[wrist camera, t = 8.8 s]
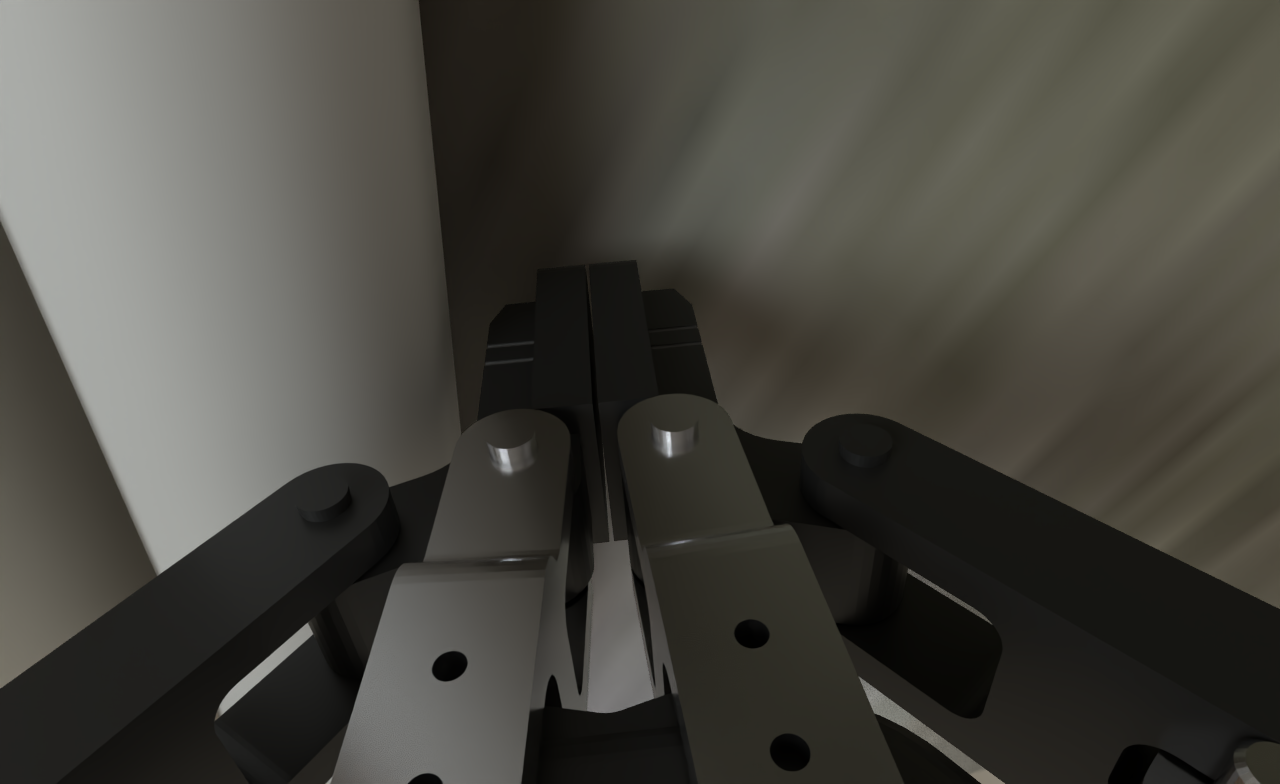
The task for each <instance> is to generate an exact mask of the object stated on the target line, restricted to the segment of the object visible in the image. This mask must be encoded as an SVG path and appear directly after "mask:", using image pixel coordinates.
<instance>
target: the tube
mask: <svg viewBox="0 0 1280 784" xmlns="http://www.w3.org/2000/svg"><path fill="white" fill-rule="evenodd" d="M0 221H1V223H2V226H3V228H4V230H5V233H6V235H7V237H8V239H9V242H10V244H11V246H12V248H13V251H14V253H15V255H16V258H17V260H18V262H19V264H20V267H21V269H22V271H23V273H24V276H25V278H26V280H27V282H28V285H29V287H30V289H31V292H32V294H33V296H34V298H35V301H36V303H37V305H38V307H39V310H40V312H41V314H42V317H43V319H44V321H45V323H46V326H47V328H48V330H49V332H50V335H51V337H52V339H53V341H54V344H55V346H56V348H57V351H58V353H59V355H60V357H61V360H62V362H63V364H64V366H65V369H66V371H67V373H68V376H69V378H70V380H71V382H72V385H73V387H74V389H75V391H76V394H77V396H78V398H79V400H80V403H81V405H82V407H83V410H84V412H85V414H86V416H87V419H88V421H89V423H90V425H91V428H92V430H93V432H94V435H95V437H96V439H97V441H98V444H99V446H100V448H101V450H102V453H103V455H104V457H105V459H106V462H107V464H108V466H109V469H110V471H111V473H112V475H113V478H114V480H115V482H116V484H117V487H118V489H119V491H120V494H121V496H122V498H123V500H124V503H125V505H126V507H127V509H128V512H129V514H130V516H131V518H132V521H133V523H134V525H135V528H136V530H137V532H138V534H139V537H140V539H141V541H142V543H143V546H144V548H145V550H146V553H147V555H148V557H149V559H150V562H151V564H152V566H153V568H154V571H155V573H156V575H157V576H158V575H159V574H161V573H162V572H164V571H165V570H166V569H168V568H169V567H170V566H172V565H173V564H175V563H176V562H177V561H179V560H180V559H182V558H183V557H184V556H186V555H187V554H189V553H190V552H191V551H193V550H194V549H196V548H197V547H198V546H200V545H201V544H203V543H204V542H205V541H207V540H208V539H210V538H211V537H212V536H214V535H215V534H217V533H218V532H219V531H221V530H222V529H223V528H225V527H226V526H228V525H229V524H230V523H232V522H233V521H235V520H236V519H237V518H239V517H240V516H242V515H243V514H244V513H246V512H247V511H249V510H250V509H251V508H253V507H254V506H256V505H257V504H258V503H260V502H261V501H263V500H264V499H265V498H267V497H268V496H270V495H271V494H272V493H274V492H275V491H276V490H278V489H279V488H281V487H282V486H283V485H285V484H286V483H288V482H289V481H291V480H292V479H294V478H296V477H297V476H299V475H301V474H303V473H305V472H308V471H310V470H313V469H316V468H319V467H323V466H326V465H331V464H337V463H358V464H363V465H367V466H370V467H372V468H374V469H376V470H378V471H379V472H380V473H381V474H382V475H383V476H384V477H385V479H386V480H387V482H388V485H389V487H391V486H394V485H397V484H400V483H403V482H406V481H409V480H412V479H416V478H419V477H422V476H424V475H427V474H430V473H432V472H434V471H436V470H438V469H440V468H443V467H444V466H446V465H447V464H449V463H451V459H452V455H453V452H454V448H455V445H456V443H457V441H458V439H459V438H460V436H461V427H460V417H459V407H458V396H457V386H456V376H455V366H454V356H453V346H452V335H451V325H450V315H449V305H448V295H447V285H446V274H445V264H444V254H443V244H442V234H441V223H440V213H439V203H438V193H437V183H436V173H435V162H434V152H433V142H432V132H431V122H430V112H429V101H428V91H427V81H426V71H425V61H424V51H423V40H422V30H421V20H420V10H419V0H0ZM312 635H313V633H312V631H311V629H310V627H309V624H308V623H307V624H306V625H304V626H303V627H302V628H301V629H300V630H299V631H298V632H296V633H295V634H294V635H293V636H292V637H291V638H289V639H288V640H287V641H286V642H285V643H284V644H283V645H281V646H280V647H279V648H278V649H277V650H276V651H274V652H273V653H272V654H271V655H270V656H269V657H268V658H266V659H265V660H264V661H263V662H262V663H261V664H260V665H258V666H257V667H256V668H255V669H254V670H253V671H251V672H250V673H249V674H248V675H247V676H246V677H245V678H243V679H242V680H241V681H240V682H239V683H238V684H236V685H235V686H234V687H233V688H232V689H231V690H230V692H229V693H228V694H227V695H226V696H225V698H224V699H223V701H222V702H221V704H220V706H219V708H218V711H217V714H218V716H219V717H220V716H221V715H222V714H223V713H225V712H226V711H227V710H228V709H229V708H230V707H231V706H233V705H234V704H235V703H236V702H237V701H238V700H239V699H240V698H242V697H243V696H244V695H245V694H246V693H247V692H248V691H250V690H251V689H252V688H253V687H254V686H255V685H256V684H257V683H259V682H260V681H261V680H262V679H263V678H264V677H265V676H267V675H268V674H269V673H270V672H271V671H272V670H273V669H274V668H276V667H277V666H278V665H279V664H280V663H281V662H282V661H283V660H285V659H286V658H287V657H288V656H289V655H290V654H291V653H293V652H294V651H295V650H296V649H297V648H298V647H299V646H300V645H302V644H303V643H304V642H305V641H306V640H307V639H308V638H310V637H311V636H312ZM331 780H332V778H331V779H330V780H329V781H328V782H327V783H326V784H330V783H331Z"/></svg>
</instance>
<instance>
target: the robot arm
mask: <svg viewBox="0 0 1280 784" xmlns="http://www.w3.org/2000/svg"><path fill="white" fill-rule="evenodd" d="M589 271H590V287H591V302H592V318H593V327H592V318H591V310H590V301H589V292H588V284H587V275H586V268H585V265H579V266H568V267H558V268H547V269H538V270H537V288H536V302H529V303H518V304H508V305H505V307H504V308H503V309H502V310H501V311H500V313H499V314H498V315H497V316H496V317H495V319H494V320H493V321H492V322H491V323H490V327H489V334H488V342H487V347H488V349H487V350H486V358H485V366H484V373H483V381H482V388H481V396H480V404H479V412H478V419H477V422H476V423H474V424H473V425H471V426H470V427H469V428H467V429H466V430H465V431H464V433H463V434H462V435H461V436H460V438H459V439H458V441H457V443H456V445H455V448H454V452H453V455H452V459H451V463H449V464H447V465H446V466H444V467H443V468H440V469H438V470H436V471H434V472H432V473H430V474H427V475H424V476H422V477H419V478H416V479H412V480H409V481H406V482H403V483H400V484H397V485H394V486H391V487H389V485H388V482H387V480H386V479H385V477H384V476H383V475H382V474H381V473H380V472H379V471H378V470H376V469H374V468H372V467H370V466H367V465H363V464H358V463H337V464H331V465H326V466H323V467H319V468H316V469H313V470H310V471H308V472H305V473H303V474H301V475H299V476H297V477H296V478H294V479H292V480H291V481H289V482H288V483H286V484H285V485H283V486H282V487H281V488H279V489H278V490H276V491H275V492H274V493H272V494H271V495H270V496H268V497H267V498H265V499H264V500H263V501H261V502H260V503H258V504H257V505H256V506H254V507H253V508H251V509H250V510H249V511H247V512H246V513H244V514H243V515H242V516H240V517H239V518H237V519H236V520H235V521H233V522H232V523H230V524H229V525H228V526H226V527H225V528H223V529H222V530H221V531H219V532H218V533H217V534H215V535H214V536H212V537H211V538H210V539H208V540H207V541H205V542H204V543H203V544H201V545H200V546H198V547H197V548H196V549H194V550H193V551H191V552H190V553H189V554H187V555H186V556H184V557H183V558H182V559H180V560H179V561H177V562H176V563H175V564H173V565H172V566H170V567H169V568H168V569H166V570H165V571H164V572H162V573H161V574H159V575H158V576H157V577H155V578H154V579H152V580H151V581H150V582H148V583H147V584H145V585H144V586H143V587H141V588H140V589H138V590H137V591H136V592H134V593H133V594H131V595H130V596H129V597H127V598H126V599H124V600H123V601H122V602H120V603H119V604H117V605H116V606H115V607H113V608H112V609H111V610H109V611H108V612H106V613H105V614H104V615H102V616H101V617H99V618H98V619H97V620H95V621H94V622H92V623H91V624H90V625H88V626H87V627H85V628H84V629H83V630H81V631H80V632H78V633H77V634H76V635H74V636H73V637H71V638H70V639H69V640H67V641H66V642H65V643H63V644H62V645H60V646H59V647H58V648H56V649H55V650H53V651H52V652H51V653H49V654H48V655H46V656H45V657H44V658H42V659H41V660H39V661H38V662H37V663H35V664H34V665H32V666H31V667H30V668H28V669H27V670H25V671H24V672H23V673H21V674H20V675H18V676H17V677H16V678H14V679H13V680H12V681H10V682H9V683H7V684H6V685H5V686H3V687H2V688H0V784H326V783H327V782H328V781H329V780H330V779H331V778H332V780H331V783H330V784H981V783H980V782H978V781H977V780H976V779H975V778H973V777H972V776H971V775H970V774H968V773H967V772H966V771H964V770H963V769H962V768H961V767H959V766H958V765H957V764H956V763H954V762H953V761H952V760H951V759H949V758H948V757H947V756H945V755H944V754H943V753H942V752H940V751H939V750H938V749H936V748H935V747H934V746H932V745H931V744H930V743H928V742H927V741H925V740H924V739H922V738H920V737H919V736H917V735H916V734H914V733H912V732H911V731H909V730H908V729H906V728H904V727H902V726H900V725H898V724H896V723H894V722H892V721H890V720H888V719H886V718H884V717H882V716H880V715H877V714H874V712H873V710H872V707H871V705H870V703H869V700H868V698H867V696H866V693H865V691H864V689H863V686H862V684H861V682H860V679H859V677H861V678H862V679H863V680H865V681H866V682H867V683H869V684H870V685H872V686H873V687H874V688H876V689H877V690H878V691H880V692H881V693H882V694H884V695H885V696H887V697H888V698H889V699H891V700H892V701H893V702H895V703H896V704H897V705H899V706H900V707H902V708H903V709H904V710H906V711H907V712H908V713H910V714H911V715H912V716H914V717H915V718H917V719H918V720H919V721H921V722H922V723H923V724H925V725H926V726H927V727H929V728H930V729H932V730H933V731H934V732H936V733H937V734H938V735H940V736H941V737H942V738H944V739H945V740H947V741H948V742H949V743H951V744H952V745H953V746H955V747H956V748H958V749H959V750H960V751H962V752H963V753H964V754H966V755H967V756H968V757H970V758H971V759H973V760H974V761H975V762H977V763H978V764H979V765H981V766H982V767H983V768H985V769H986V770H988V771H989V772H990V773H992V774H993V775H994V776H996V777H997V778H998V779H1000V780H1001V781H1003V782H1004V783H1005V784H1280V609H1278V608H1276V607H1274V606H1272V605H1270V604H1268V603H1266V602H1264V601H1262V600H1260V599H1258V598H1256V597H1254V596H1252V595H1250V594H1248V593H1245V592H1243V591H1241V590H1239V589H1237V588H1235V587H1233V586H1231V585H1229V584H1227V583H1225V582H1223V581H1221V580H1219V579H1217V578H1215V577H1213V576H1211V575H1209V574H1207V573H1205V572H1202V571H1200V570H1198V569H1196V568H1194V567H1192V566H1190V565H1188V564H1186V563H1184V562H1182V561H1180V560H1178V559H1176V558H1174V557H1172V556H1170V555H1168V554H1166V553H1164V552H1162V551H1160V550H1157V549H1155V548H1153V547H1151V546H1149V545H1147V544H1145V543H1143V542H1141V541H1139V540H1137V539H1135V538H1133V537H1131V536H1129V535H1127V534H1125V533H1123V532H1121V531H1119V530H1117V529H1115V528H1112V527H1110V526H1108V525H1106V524H1104V523H1102V522H1100V521H1098V520H1096V519H1094V518H1092V517H1090V516H1088V515H1086V514H1084V513H1082V512H1080V511H1078V510H1076V509H1074V508H1072V507H1070V506H1067V505H1065V504H1063V503H1061V502H1059V501H1057V500H1055V499H1053V498H1051V497H1049V496H1047V495H1045V494H1043V493H1041V492H1039V491H1037V490H1035V489H1033V488H1031V487H1029V486H1027V485H1024V484H1022V483H1020V482H1018V481H1016V480H1014V479H1012V478H1010V477H1008V476H1006V475H1004V474H1002V473H1000V472H998V471H996V470H994V469H992V468H990V467H988V466H986V465H984V464H982V463H979V462H977V461H975V460H973V459H971V458H969V457H967V456H965V455H963V454H961V453H959V452H957V451H955V450H953V449H951V448H949V447H947V446H945V445H943V444H941V443H939V442H937V441H934V440H932V439H930V438H928V437H926V436H924V435H922V434H920V433H918V432H916V431H914V430H912V429H910V428H908V427H906V426H904V425H902V424H900V423H897V422H895V421H893V420H890V419H887V418H884V417H880V416H875V415H869V414H845V415H838V416H834V417H830V418H828V419H825V420H823V421H821V422H819V423H818V424H816V425H814V426H813V427H812V428H811V429H810V430H809V431H808V433H807V434H806V435H805V437H804V440H803V443H802V444H801V443H793V442H785V441H777V440H771V439H765V438H761V437H758V436H754V435H752V434H749V433H747V432H745V431H743V430H741V429H739V428H737V427H736V426H735V425H733V423H732V420H731V418H730V416H729V415H728V413H727V412H726V411H725V410H724V409H723V408H722V407H721V406H719V405H718V403H717V399H716V395H715V391H714V388H713V384H712V380H711V376H710V372H709V368H708V365H707V361H706V357H705V353H704V349H703V345H702V344H701V338H700V334H699V330H698V328H697V322H696V319H695V315H694V311H693V307H692V304H691V303H689V302H688V301H687V300H686V299H685V298H684V297H683V296H682V295H680V294H679V293H678V292H677V291H676V290H675V289H664V290H653V291H643V292H641V286H640V280H639V274H638V268H637V262H636V260H631V261H620V262H609V263H599V264H589ZM593 333H594V336H593ZM602 441H603V442H602ZM603 450H604V457H603ZM604 458H605V467H606V475H607V484H608V492H609V501H610V509H611V518H612V526H613V535H614V541H618V540H628V545H629V555H630V563H631V573H632V583H633V592H634V597H635V602H636V607H637V612H638V618H639V623H640V628H641V633H642V639H643V644H644V649H645V654H646V660H647V665H648V670H649V675H650V680H651V686H652V691H653V696H654V699H652V700H649V701H646V702H644V703H641V704H638V705H635V706H632V707H630V708H627V709H624V710H621V711H617V712H613V713H596V712H589V711H587V701H588V682H589V662H590V643H591V624H592V604H593V587H592V581H591V577H592V574H593V570H594V553H593V543H602V542H609V531H608V516H607V501H606V486H605V471H604ZM908 568H909V569H911V570H912V571H914V572H916V573H917V574H919V575H921V576H922V577H924V578H926V579H927V580H929V581H931V582H932V583H934V584H935V585H937V586H939V587H940V588H942V589H944V590H945V591H947V592H949V593H950V594H952V595H954V596H955V597H957V598H958V599H960V600H962V601H963V602H965V603H967V604H968V605H970V606H972V607H973V608H975V609H976V610H978V611H979V612H981V613H982V614H983V615H984V616H985V617H986V618H987V619H988V620H989V621H990V622H991V623H992V624H993V625H992V624H990V623H988V622H987V621H985V620H984V619H982V618H980V617H979V616H977V615H975V614H974V613H972V612H970V611H969V610H967V609H966V608H964V607H962V606H961V605H959V604H957V603H956V602H954V601H953V600H951V599H949V598H948V597H946V596H944V595H943V594H941V593H940V592H938V591H936V590H935V589H933V588H931V587H930V586H928V585H926V584H925V583H923V582H922V581H920V580H918V579H917V578H915V577H913V576H912V575H910V574H909V573H907V572H908ZM307 623H308V624H309V627H310V629H311V631H312V633H313V635H312V636H311V637H310V638H308V639H307V640H306V641H305V642H304V643H303V644H302V645H300V646H299V647H298V648H297V649H296V650H295V651H294V652H293V653H291V654H290V655H289V656H288V657H287V658H286V659H285V660H283V661H282V662H281V663H280V664H279V665H278V666H277V667H276V668H274V669H273V670H272V671H271V672H270V673H269V674H268V675H267V676H265V677H264V678H263V679H262V680H261V681H260V682H259V683H257V684H256V685H255V686H254V687H253V688H252V689H251V690H250V691H248V692H247V693H246V694H245V695H244V696H243V697H242V698H240V699H239V700H238V701H237V702H236V703H235V704H234V705H233V706H231V707H230V708H229V709H228V710H227V711H226V712H225V713H223V714H222V715H221V716H220V717H219V718H218V719H217V720H215V717H216V713H217V711H218V708H219V706H220V704H221V702H222V701H223V699H224V698H225V696H226V695H227V694H228V693H229V692H230V690H231V689H232V688H233V687H234V686H235V685H236V684H238V683H239V682H240V681H241V680H242V679H243V678H245V677H246V676H247V675H248V674H249V673H250V672H251V671H253V670H254V669H255V668H256V667H257V666H258V665H260V664H261V663H262V662H263V661H264V660H265V659H266V658H268V657H269V656H270V655H271V654H272V653H273V652H274V651H276V650H277V649H278V648H279V647H280V646H281V645H283V644H284V643H285V642H286V641H287V640H288V639H289V638H291V637H292V636H293V635H294V634H295V633H296V632H298V631H299V630H300V629H301V628H302V627H303V626H304V625H306V624H307ZM858 676H859V677H858Z"/></svg>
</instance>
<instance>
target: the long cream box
mask: <svg viewBox="0 0 1280 784" xmlns="http://www.w3.org/2000/svg"><path fill="white" fill-rule="evenodd" d="M155 577H157V575H156V573H155V571H154V568H153V566H152V564H151V562H150V559H149V557H148V555H147V553H146V550H145V548H144V546H143V543H142V541H141V539H140V537H139V534H138V532H137V530H136V528H135V525H134V523H133V521H132V518H131V516H130V514H129V512H128V509H127V507H126V505H125V503H124V500H123V498H122V496H121V494H120V491H119V489H118V487H117V484H116V482H115V480H114V478H113V475H112V473H111V471H110V469H109V466H108V464H107V462H106V459H105V457H104V455H103V453H102V450H101V448H100V446H99V444H98V441H97V439H96V437H95V435H94V432H93V430H92V428H91V425H90V423H89V421H88V419H87V416H86V414H85V412H84V410H83V407H82V405H81V403H80V400H79V398H78V396H77V394H76V391H75V389H74V387H73V385H72V382H71V380H70V378H69V376H68V373H67V371H66V369H65V366H64V364H63V362H62V360H61V357H60V355H59V353H58V351H57V348H56V346H55V344H54V341H53V339H52V337H51V335H50V332H49V330H48V328H47V326H46V323H45V321H44V319H43V317H42V314H41V312H40V310H39V307H38V305H37V303H36V301H35V298H34V296H33V294H32V292H31V289H30V287H29V285H28V282H27V280H26V278H25V276H24V273H23V271H22V269H21V267H20V264H19V262H18V260H17V258H16V255H15V253H14V251H13V248H12V246H11V244H10V242H9V239H8V237H7V235H6V233H5V230H4V228H3V226H2V224H1V222H0V688H2V687H3V686H5V685H6V684H7V683H9V682H10V681H12V680H13V679H14V678H16V677H17V676H18V675H20V674H21V673H23V672H24V671H25V670H27V669H28V668H30V667H31V666H32V665H34V664H35V663H37V662H38V661H39V660H41V659H42V658H44V657H45V656H46V655H48V654H49V653H51V652H52V651H53V650H55V649H56V648H58V647H59V646H60V645H62V644H63V643H65V642H66V641H67V640H69V639H70V638H71V637H73V636H74V635H76V634H77V633H78V632H80V631H81V630H83V629H84V628H85V627H87V626H88V625H90V624H91V623H92V622H94V621H95V620H97V619H98V618H99V617H101V616H102V615H104V614H105V613H106V612H108V611H109V610H111V609H112V608H113V607H115V606H116V605H117V604H119V603H120V602H122V601H123V600H124V599H126V598H127V597H129V596H130V595H131V594H133V593H134V592H136V591H137V590H138V589H140V588H141V587H143V586H144V585H145V584H147V583H148V582H150V581H151V580H152V579H154V578H155ZM218 718H219V716H218V714H217V713H216V717H215V720H217V719H218Z"/></svg>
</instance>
